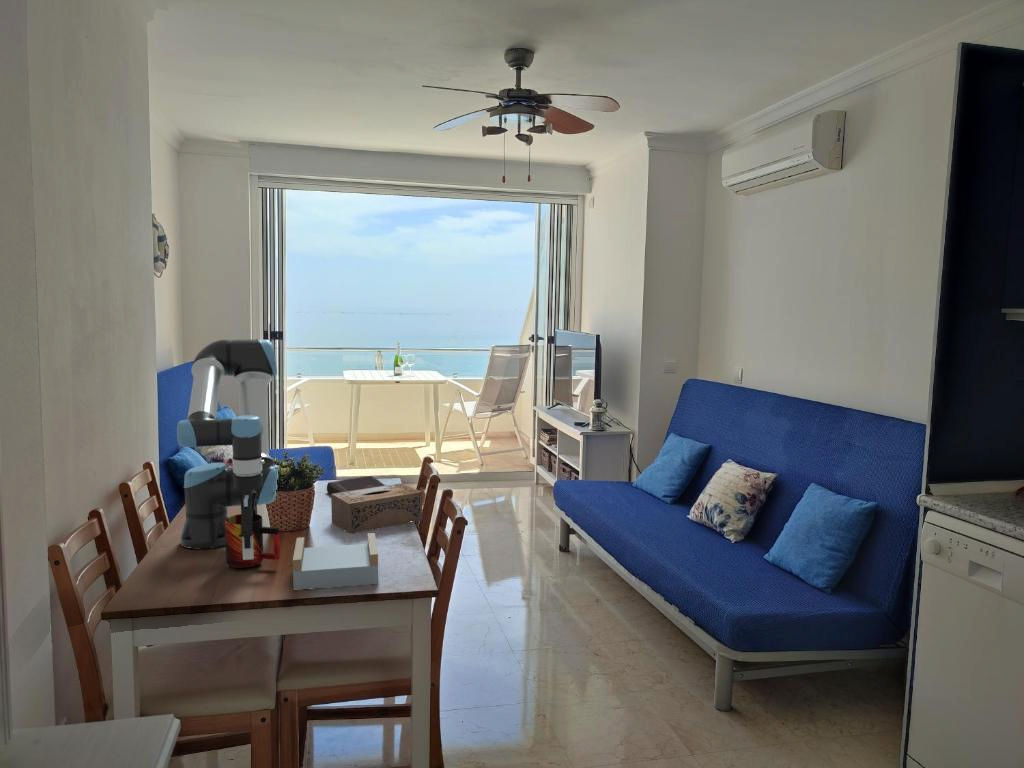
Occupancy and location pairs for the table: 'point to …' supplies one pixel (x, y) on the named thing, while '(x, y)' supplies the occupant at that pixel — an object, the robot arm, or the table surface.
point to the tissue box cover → (376, 507)
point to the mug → (235, 542)
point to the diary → (353, 484)
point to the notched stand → (335, 565)
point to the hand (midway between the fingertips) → (250, 552)
